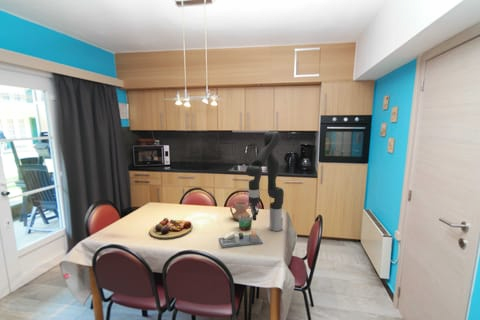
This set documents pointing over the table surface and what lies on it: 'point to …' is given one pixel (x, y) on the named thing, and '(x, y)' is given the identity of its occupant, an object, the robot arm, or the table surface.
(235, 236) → the grey slider knob
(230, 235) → the cream rocker
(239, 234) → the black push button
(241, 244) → the panel
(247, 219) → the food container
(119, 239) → the table surface
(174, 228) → the wooden plate with food
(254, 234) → the orange plunger
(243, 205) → the ceramic jug
